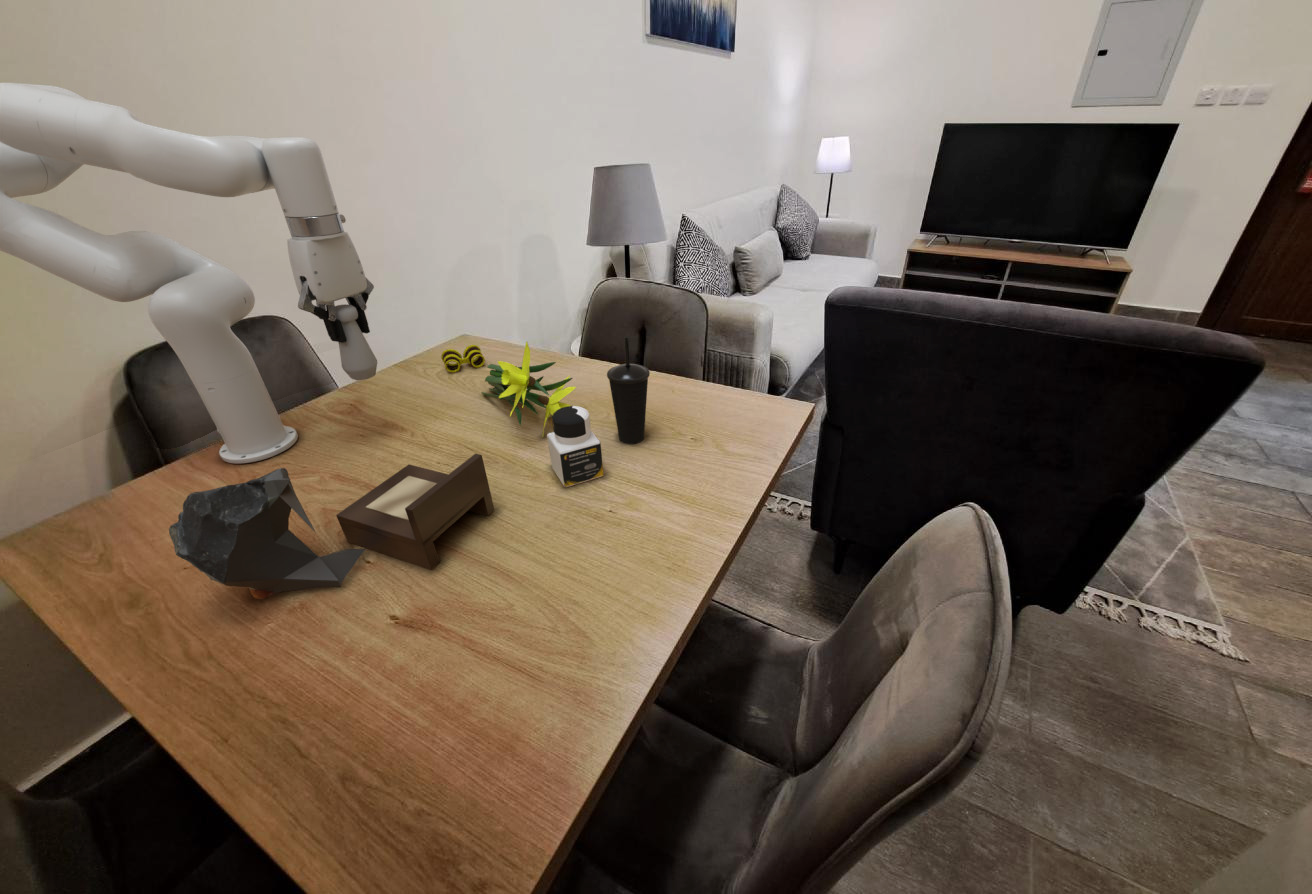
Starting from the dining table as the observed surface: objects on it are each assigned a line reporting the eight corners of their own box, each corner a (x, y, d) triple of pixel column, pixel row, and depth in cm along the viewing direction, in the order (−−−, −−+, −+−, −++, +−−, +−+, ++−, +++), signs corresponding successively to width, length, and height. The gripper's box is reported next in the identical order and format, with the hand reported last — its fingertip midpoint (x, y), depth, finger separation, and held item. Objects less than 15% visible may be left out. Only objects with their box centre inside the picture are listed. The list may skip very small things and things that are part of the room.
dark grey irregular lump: (270, 546, 78) (214, 443, 69) (372, 547, 78) (329, 442, 68) (196, 625, 66) (116, 512, 57) (316, 626, 65) (255, 512, 56)
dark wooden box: (347, 541, 78) (322, 484, 72) (416, 489, 89) (399, 435, 83) (431, 570, 73) (411, 510, 67) (494, 510, 84) (481, 454, 78)
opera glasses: (447, 377, 130) (443, 359, 127) (443, 366, 133) (439, 348, 130) (487, 369, 134) (484, 352, 131) (481, 358, 137) (478, 341, 134)
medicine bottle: (564, 488, 88) (556, 426, 82) (551, 467, 94) (542, 407, 87) (604, 476, 91) (598, 415, 85) (589, 457, 96) (582, 398, 90)
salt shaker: (387, 371, 99) (367, 303, 92) (364, 384, 95) (341, 312, 88) (363, 368, 101) (341, 300, 94) (338, 379, 96) (314, 309, 90)
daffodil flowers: (541, 381, 127) (611, 395, 98) (500, 427, 123) (560, 456, 95) (488, 329, 118) (548, 329, 89) (443, 378, 115) (490, 393, 86)
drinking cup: (646, 449, 98) (643, 347, 87) (607, 446, 99) (598, 345, 89) (655, 429, 104) (652, 331, 94) (617, 426, 106) (611, 329, 95)
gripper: (343, 217, 92) (373, 320, 102) (248, 234, 79) (292, 350, 88) (375, 220, 90) (403, 324, 99) (283, 237, 76) (325, 356, 86)
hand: (350, 335), depth 94 cm, fingers closed on salt shaker, 4 cm apart
